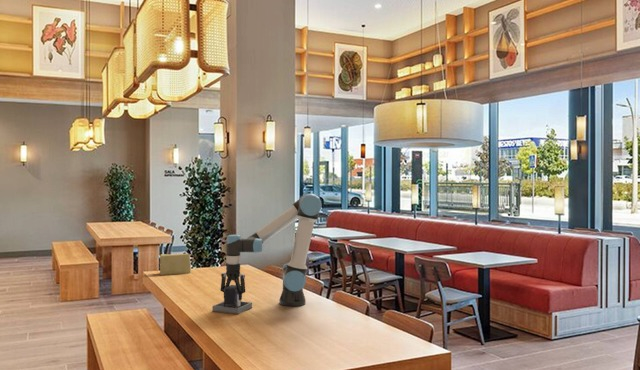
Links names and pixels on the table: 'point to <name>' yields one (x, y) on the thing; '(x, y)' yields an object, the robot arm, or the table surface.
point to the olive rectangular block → (174, 264)
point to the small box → (230, 296)
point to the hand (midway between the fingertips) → (232, 305)
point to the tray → (236, 310)
